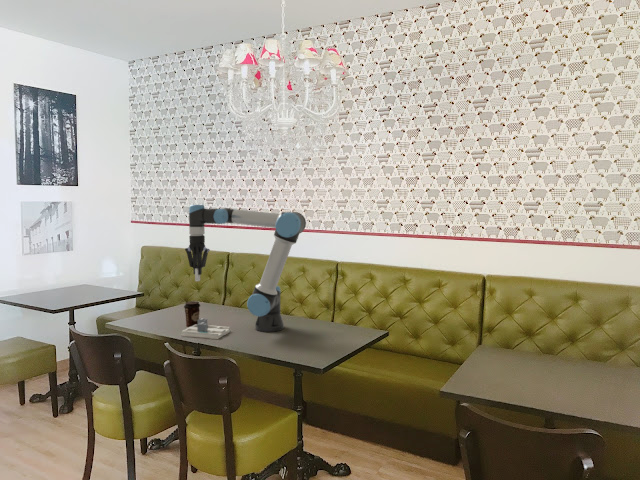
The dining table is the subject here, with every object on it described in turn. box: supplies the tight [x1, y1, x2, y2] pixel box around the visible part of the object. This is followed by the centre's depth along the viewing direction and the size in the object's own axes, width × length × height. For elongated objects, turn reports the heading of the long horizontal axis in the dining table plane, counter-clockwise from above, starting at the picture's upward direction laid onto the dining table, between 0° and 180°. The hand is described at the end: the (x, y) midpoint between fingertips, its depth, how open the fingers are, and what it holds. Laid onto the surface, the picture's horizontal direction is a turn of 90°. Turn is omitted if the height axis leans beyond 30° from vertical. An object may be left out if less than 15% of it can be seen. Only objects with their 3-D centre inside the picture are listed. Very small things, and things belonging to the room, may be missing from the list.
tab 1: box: [197, 317, 208, 324], centre depth 257 cm, size 4×3×5 cm
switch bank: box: [180, 324, 231, 340], centre depth 253 cm, size 20×14×3 cm
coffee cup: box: [183, 300, 201, 328], centre depth 266 cm, size 9×8×13 cm
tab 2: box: [197, 322, 209, 332], centre depth 248 cm, size 4×3×5 cm
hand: (197, 280), depth 255 cm, fingers closed
